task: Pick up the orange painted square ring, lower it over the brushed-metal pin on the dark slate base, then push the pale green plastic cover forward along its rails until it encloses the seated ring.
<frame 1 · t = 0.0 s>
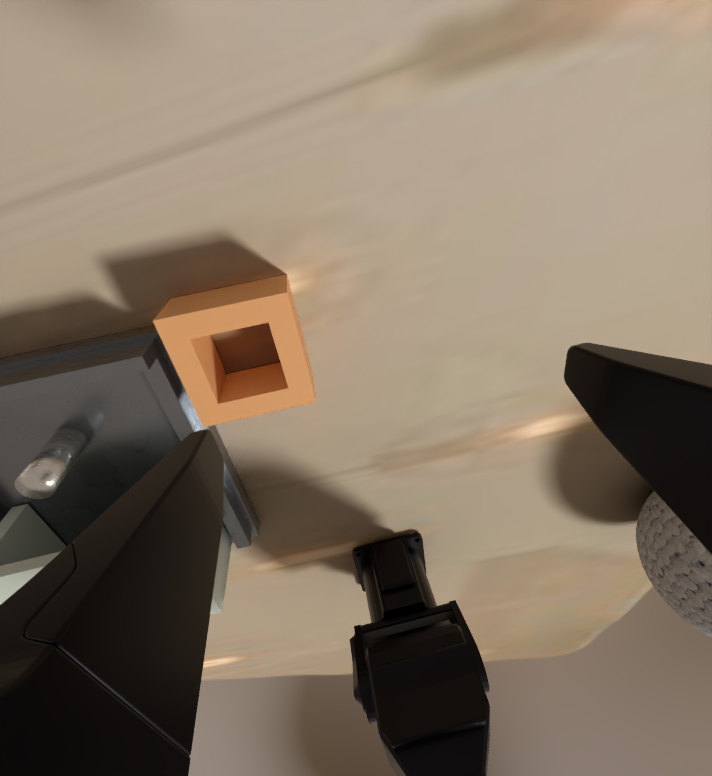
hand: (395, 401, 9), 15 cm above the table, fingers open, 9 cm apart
housing cover: (117, 559, 25), point 4 cm above the table, slide at 0.0 cm
decorative ball: (668, 487, 38), on the table
housing base: (107, 467, 26), on the table
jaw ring: (247, 339, 23), on the table
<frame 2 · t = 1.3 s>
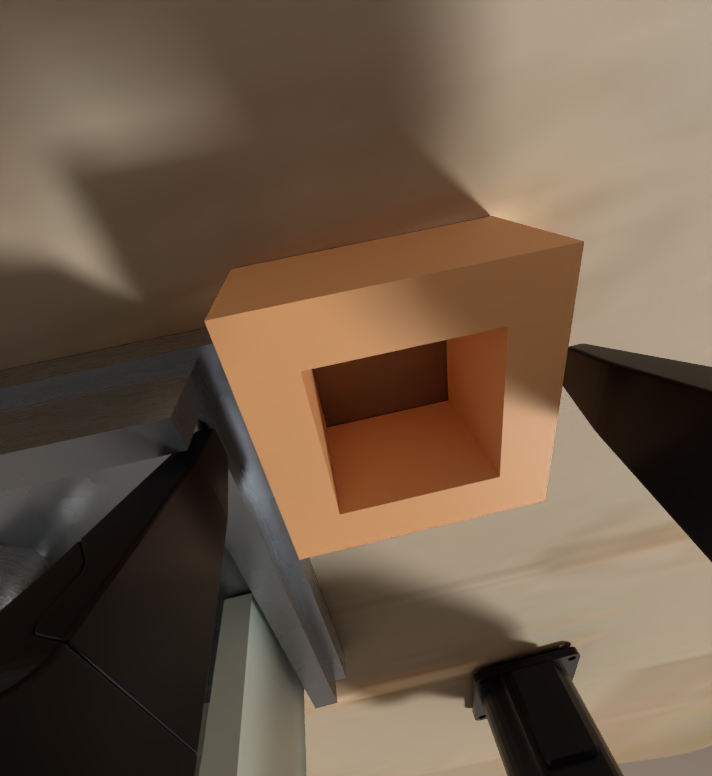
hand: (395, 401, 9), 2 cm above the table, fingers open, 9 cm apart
housing base: (92, 590, 14), on the table
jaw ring: (380, 359, 11), on the table
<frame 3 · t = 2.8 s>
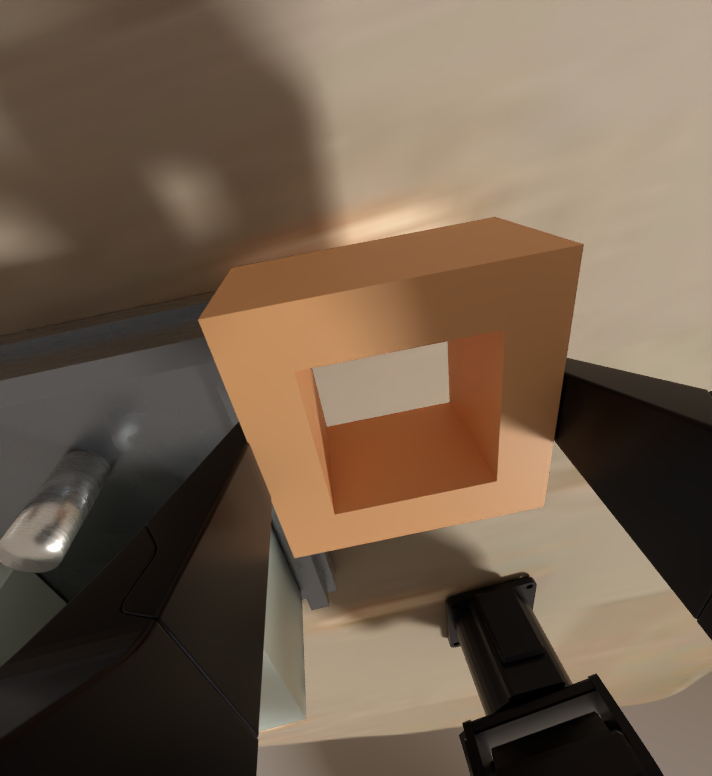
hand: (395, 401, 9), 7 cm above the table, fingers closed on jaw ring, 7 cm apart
housing cover: (151, 641, 17), point 4 cm above the table, slide at 0.0 cm
housing base: (135, 503, 18), on the table
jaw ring: (380, 359, 11), point 5 cm above the table, touching gripper
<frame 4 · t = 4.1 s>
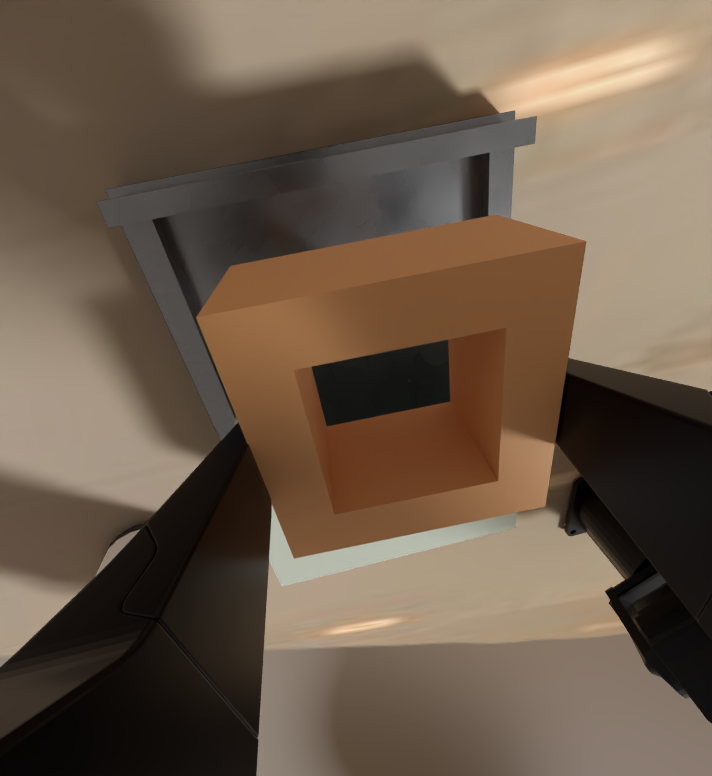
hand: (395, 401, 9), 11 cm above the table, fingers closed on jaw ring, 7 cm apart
housing cover: (378, 459, 19), point 4 cm above the table, slide at 0.0 cm
mug: (178, 564, 27), on the table
housing base: (350, 345, 20), on the table
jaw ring: (380, 358, 11), point 9 cm above the table, touching gripper
when the fingers open (3 cm above the table, at t = 5.9 s): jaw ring stays where it is, resting on housing base.
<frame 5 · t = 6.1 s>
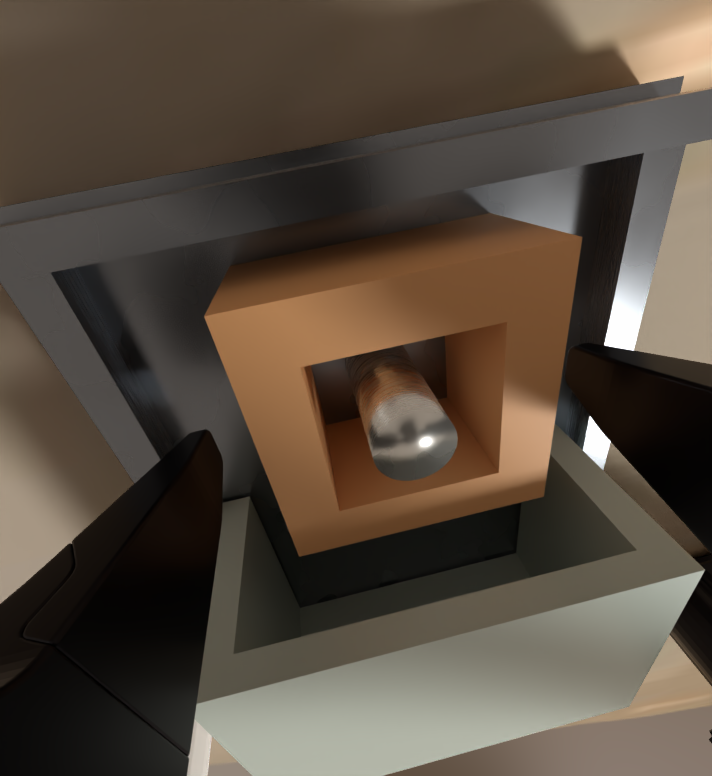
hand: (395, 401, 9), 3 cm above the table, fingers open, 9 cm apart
housing cover: (424, 605, 13), point 4 cm above the table, slide at 0.0 cm
mug: (147, 686, 21), on the table
housing base: (381, 429, 14), on the table
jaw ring: (379, 356, 11), point 1 cm above the table, touching housing base
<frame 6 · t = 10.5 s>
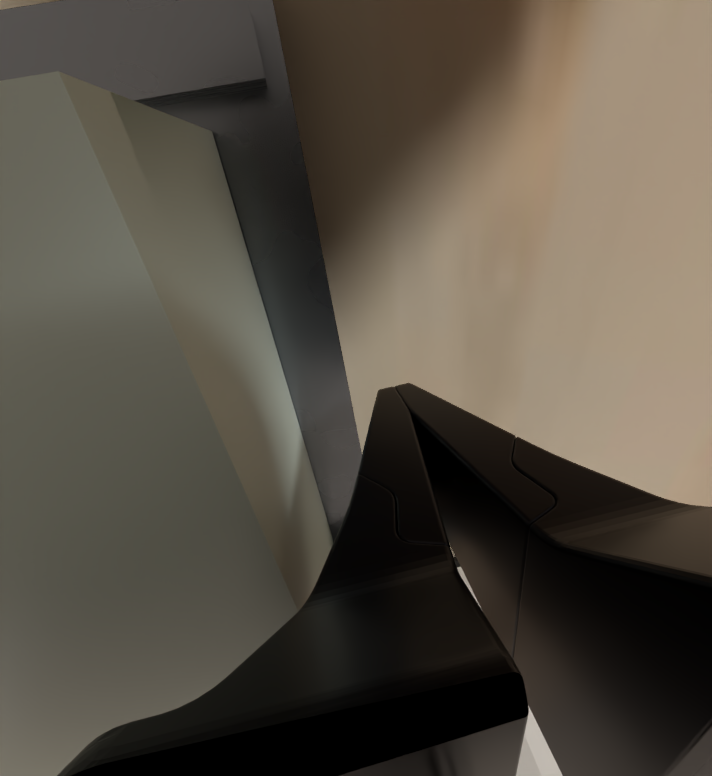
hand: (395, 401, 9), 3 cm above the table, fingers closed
housing cover: (95, 514, 8), point 4 cm above the table, slide at 1.1 cm, touching gripper
mug: (485, 590, 20), on the table
housing base: (36, 428, 11), on the table
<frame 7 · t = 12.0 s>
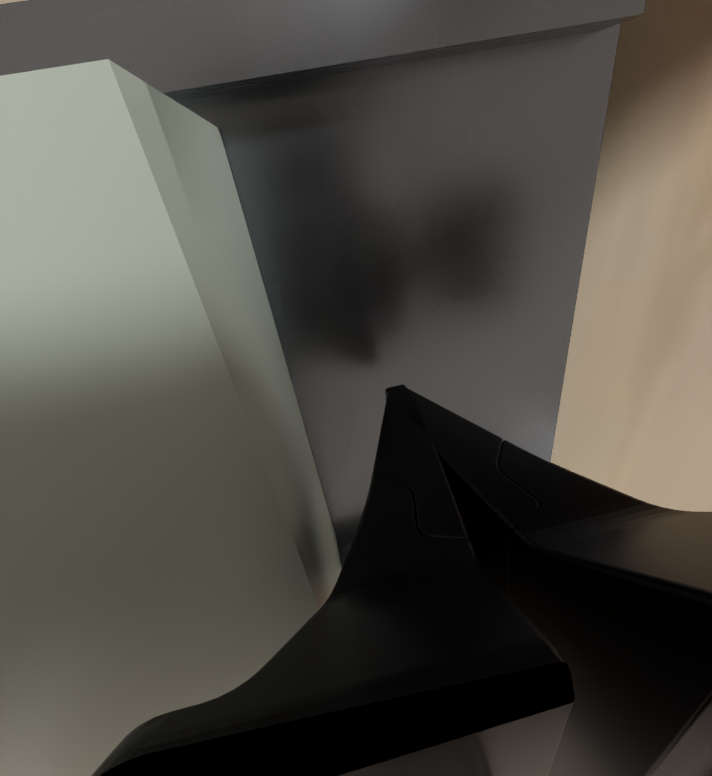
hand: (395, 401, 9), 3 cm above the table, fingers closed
housing cover: (104, 515, 8), point 4 cm above the table, slide at 7.6 cm, touching gripper
housing base: (263, 378, 11), on the table
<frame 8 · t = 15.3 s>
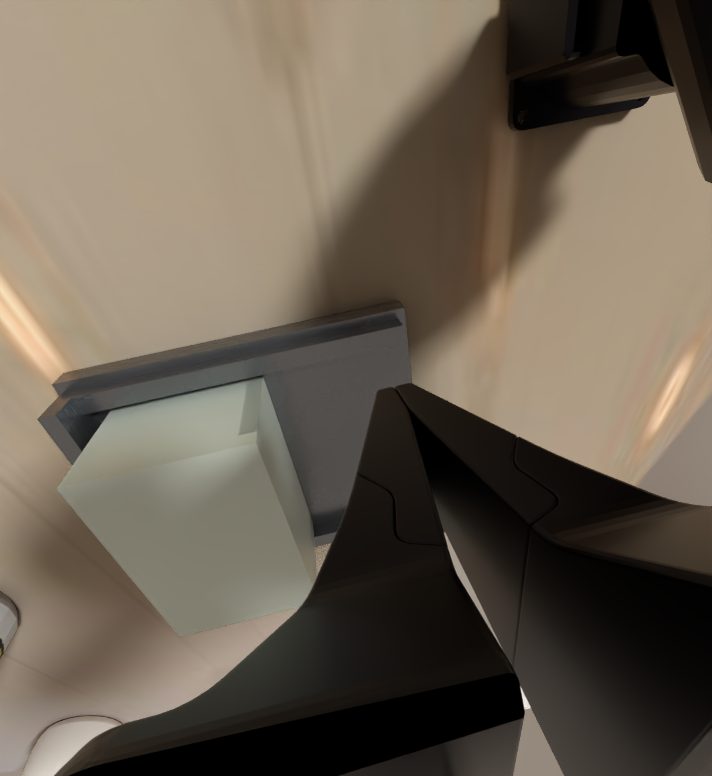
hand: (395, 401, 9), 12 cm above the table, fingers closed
housing cover: (220, 509, 21), point 4 cm above the table, slide at 7.5 cm
mug: (480, 538, 33), on the table
bottle: (87, 728, 39), on the table
housing base: (275, 448, 25), on the table
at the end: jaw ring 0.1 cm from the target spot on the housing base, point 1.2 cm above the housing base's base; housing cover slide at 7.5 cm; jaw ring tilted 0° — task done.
